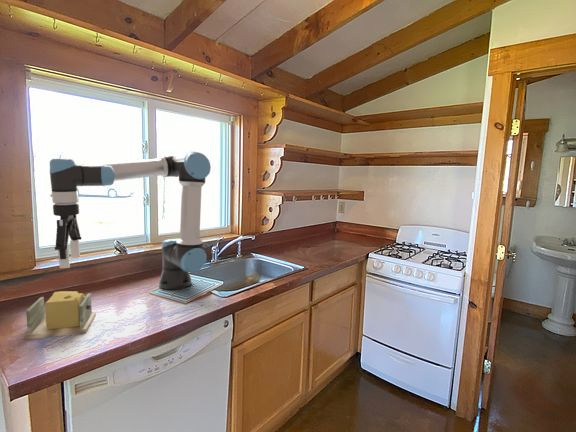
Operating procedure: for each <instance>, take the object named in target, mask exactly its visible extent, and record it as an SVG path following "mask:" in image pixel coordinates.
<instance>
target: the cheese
mask: <svg viewBox="0 0 576 432" xmlns="http://www.w3.org/2000/svg"><path fill="white" fill-rule="evenodd" d="M85 297H86V295H84V293H81V292H80V293H79V291H78V290H77V291H71V290H70V291H69V290H68V291H67V290H65V291H64V290H62V291H54V292H53V293H52V296H50V298H49V299H48V300H46V301H45V302H44V309H45V317H46V326H47V330H50V329H59V328H67V327H77V326H80V317H79V305H80V304H81V302H82V301H83V300H84V298H85Z"/></svg>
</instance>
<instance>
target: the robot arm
mask: <svg viewBox="0 0 576 432" xmlns="http://www.w3.org/2000/svg"><path fill="white" fill-rule="evenodd" d="M210 172H211V162H210V160H209V159H208V157H207V156H206V155H205V154H203V153H201V152H197V151H188V152H184V151H182V152H178V153H174V154H168V155H167V154H166V155H162V156H161V155H159V157H158V158H152V159H139V160H128V161H127V160H126V161H117V162H116V161H115V162H105V163H95V164H94V163H93V164H77V163H76V160H75V159H73V158H72V159H71V158H70V159H68V158H52V159H50V161H49V177H50V188H51V194H50V197H51V198H52V203H53V205H52V211H53V213H52V214H53V215H54V216H55V217H56V216H57V217H60V218H59V219H57V220H56V238H55V247H54V251H58V263H59V265H58V266H59V269H69V268H71V267H70V266H71V265H70V257H71V259H72V258H74V259H75V258H81V252H80V240H82V236H81V233H80V228H79V224H78V221H77V215H78V214H80V205H79V204H78V203H79V193H78V192H79V191H78V187H100V186H102V187H105V186H112V185H114V183H115V182H116V181H123V180H124V181H125V180H133V179H140V178H142V179H143V178H149V177H159V176H161V177H163V178H169V177H172V178H173V177H174V178H178V183H179V184H180V185H181V200H180V201H181V202H180V204H181V205H180V230H179V231H180V232H179V238H178V237H177V238H171V239H170V238H169V239H165V240H162V243H161V254H162V255H161V257H162V259H161V261H162V271H161V275H160V278H159V281H158V285H159V288H160V289H162V288H166V289H165V290H167V289H176V290H182V289H181V288H183V289H186V288H188V287H190V286H191V285H192V278H191V277H192V276H191V275H190V273H192V274H193V273H197V272H199V271H201V269H202V268H203V267H204V266H205V264H206V263H207V253H206V251H205V250H204V249H203V246H204V242H203V240H201V238H200V236H201V234H200V232H201V211H202V210H201V209H202V188H203V186H204V185H205V184H206V178H207V177H208V176H209V174H210ZM69 238H70V241H69ZM68 243H69V245H70V256H69V248H68ZM190 284H191V285H190ZM189 285H190V286H189ZM187 286H188V287H187ZM185 287H186V288H185Z"/></svg>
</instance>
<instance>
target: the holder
mask: <svg viewBox="0 0 576 432" xmlns="http://www.w3.org/2000/svg"><path fill="white" fill-rule="evenodd" d="M85 296H86V297H85V298H84V300H83V301H82V302H81V304H80V305H79V317H80V326H77V327H67V328H59V329H50V330H47V326H46V316H45V297H44V296H41V297H39V298H38V299H37V300H36V301H35V302H33V303H32V304H31V305H30V306H29V307H28V308H27V309H26V311H25V316H26V326H27V328H26V329H27V330H26V332H24V333H23V335H22V340H24V341H26V340H34V339H35V340H36V339H44V338H52V337H60V336H61V337H62V336H70V335H80V334H81V335H82V334H87V332H88V330H89V329H90V327H91V325H92V323H93V322H94V320H95V317H96V316H97V315H96V314H97V313H96V311H92V293H91V292H90V293H87V294H86V295H85Z"/></svg>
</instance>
